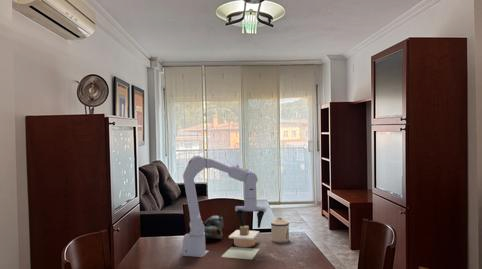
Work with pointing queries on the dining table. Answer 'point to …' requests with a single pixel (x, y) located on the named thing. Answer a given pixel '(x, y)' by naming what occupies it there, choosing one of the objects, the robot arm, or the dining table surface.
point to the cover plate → (251, 235)
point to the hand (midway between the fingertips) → (251, 226)
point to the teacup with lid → (280, 230)
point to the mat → (240, 253)
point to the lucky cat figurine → (214, 227)
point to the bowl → (244, 242)
